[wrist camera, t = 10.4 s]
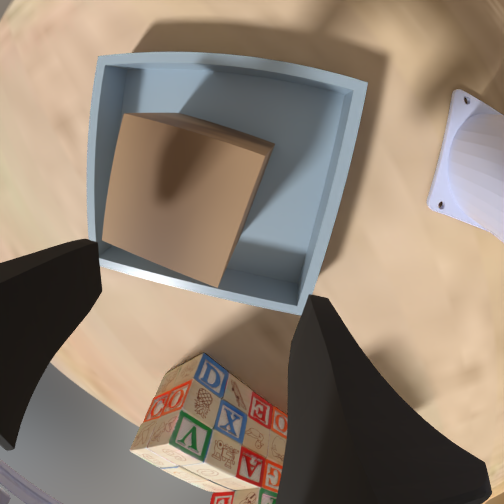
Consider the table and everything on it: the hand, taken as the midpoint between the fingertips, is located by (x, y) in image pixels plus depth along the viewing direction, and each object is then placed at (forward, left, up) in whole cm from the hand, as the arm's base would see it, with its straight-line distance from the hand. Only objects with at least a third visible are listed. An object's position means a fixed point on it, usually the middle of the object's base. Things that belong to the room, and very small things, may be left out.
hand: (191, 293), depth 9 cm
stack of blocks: (-5, +22, -10) cm, 24 cm away
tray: (+2, -2, -9) cm, 10 cm away
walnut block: (+2, -2, -9) cm, 9 cm away
